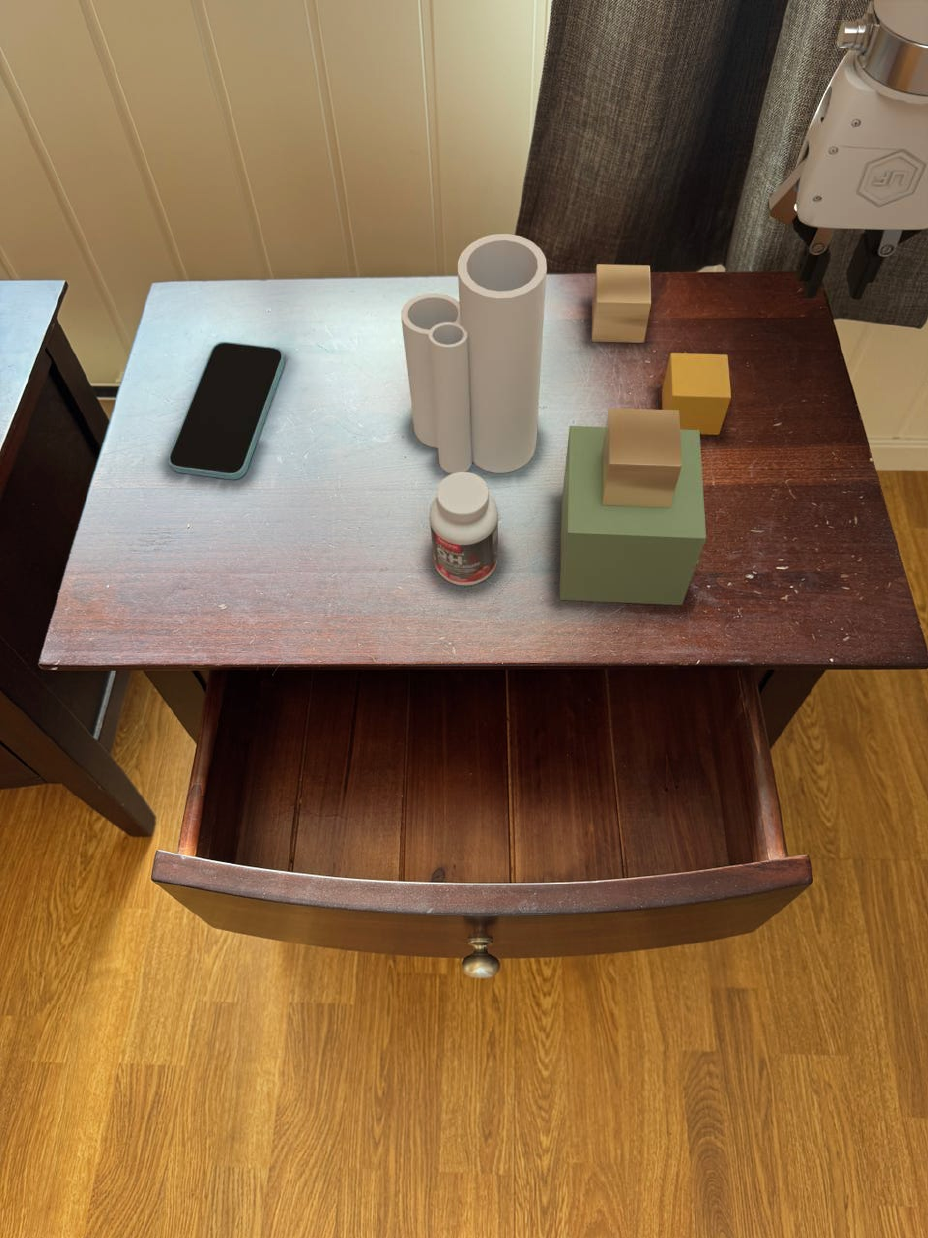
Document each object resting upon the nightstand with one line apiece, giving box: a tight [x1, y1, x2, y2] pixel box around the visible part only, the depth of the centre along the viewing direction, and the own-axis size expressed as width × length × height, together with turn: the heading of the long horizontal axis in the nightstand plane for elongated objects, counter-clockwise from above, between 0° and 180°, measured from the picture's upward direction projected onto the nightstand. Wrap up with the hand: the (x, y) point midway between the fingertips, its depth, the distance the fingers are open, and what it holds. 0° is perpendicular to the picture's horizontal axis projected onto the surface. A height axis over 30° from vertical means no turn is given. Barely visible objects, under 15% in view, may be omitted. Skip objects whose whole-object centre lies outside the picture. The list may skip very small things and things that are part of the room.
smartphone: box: [168, 341, 286, 480], centre depth 87 cm, size 7×1×15 cm
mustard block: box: [661, 352, 732, 436], centre depth 84 cm, size 5×5×5 cm
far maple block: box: [591, 263, 652, 344], centre depth 89 cm, size 5×5×5 cm
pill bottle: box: [429, 471, 499, 586], centre depth 75 cm, size 5×5×10 cm
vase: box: [400, 233, 548, 474], centre depth 76 cm, size 11×7×20 cm, turn 83°
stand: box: [558, 425, 707, 606], centre depth 75 cm, size 10×10×10 cm
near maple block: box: [602, 407, 682, 508], centre depth 68 cm, size 5×5×5 cm
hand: (830, 284), depth 72 cm, fingers closed
